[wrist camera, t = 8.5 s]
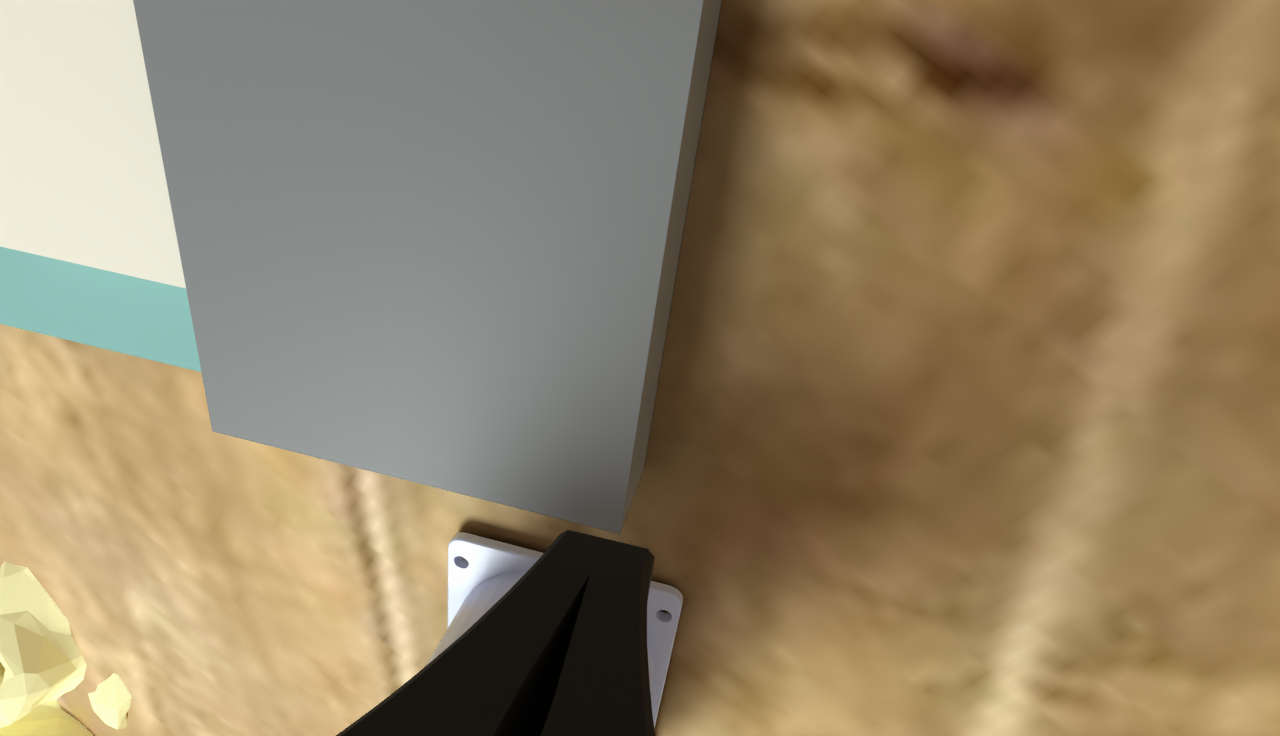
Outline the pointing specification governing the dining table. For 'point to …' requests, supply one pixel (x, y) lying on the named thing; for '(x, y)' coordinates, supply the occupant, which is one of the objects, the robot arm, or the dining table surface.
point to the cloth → (44, 664)
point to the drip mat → (97, 308)
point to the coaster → (82, 140)
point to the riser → (435, 229)
